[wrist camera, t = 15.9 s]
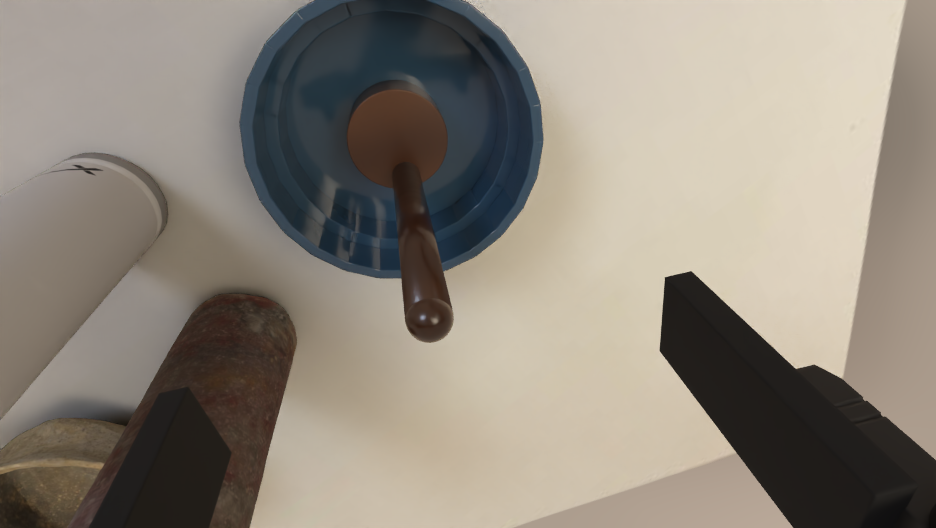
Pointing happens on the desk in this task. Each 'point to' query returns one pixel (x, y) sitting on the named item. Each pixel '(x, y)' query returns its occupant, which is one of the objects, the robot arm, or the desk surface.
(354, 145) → the ladle
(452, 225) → the mixing bowl
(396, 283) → the desk surface
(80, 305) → the travel mug
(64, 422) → the bowl
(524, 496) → the desk surface
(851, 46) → the desk surface
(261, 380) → the brown cylinder
